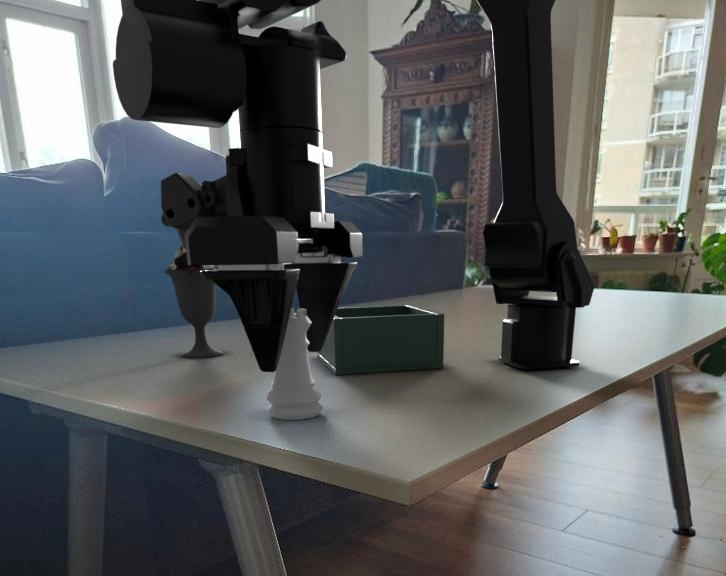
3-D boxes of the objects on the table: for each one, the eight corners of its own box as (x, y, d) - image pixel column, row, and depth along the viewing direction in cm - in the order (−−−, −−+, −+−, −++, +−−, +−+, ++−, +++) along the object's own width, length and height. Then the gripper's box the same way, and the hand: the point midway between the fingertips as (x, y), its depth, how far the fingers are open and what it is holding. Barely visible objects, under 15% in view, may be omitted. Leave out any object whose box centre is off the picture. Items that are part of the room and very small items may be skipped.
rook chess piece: (316, 421, 50) (311, 312, 47) (259, 420, 51) (251, 313, 48) (328, 407, 54) (325, 307, 52) (275, 406, 55) (269, 307, 52)
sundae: (206, 348, 87) (194, 225, 82) (240, 353, 83) (229, 223, 78) (163, 355, 82) (147, 225, 77) (197, 360, 78) (182, 223, 73)
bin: (411, 352, 81) (411, 304, 79) (443, 368, 70) (444, 313, 68) (316, 357, 78) (314, 308, 77) (335, 375, 68) (333, 318, 66)
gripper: (237, 155, 57) (251, 341, 62) (94, 121, 40) (130, 380, 45) (362, 148, 53) (366, 344, 59) (264, 106, 37) (282, 387, 42)
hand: (293, 360), depth 51 cm, fingers open, 9 cm apart
